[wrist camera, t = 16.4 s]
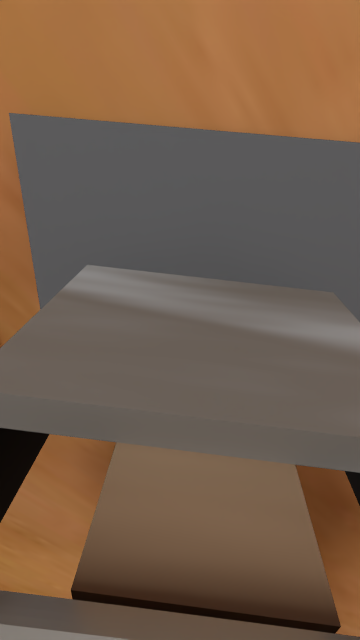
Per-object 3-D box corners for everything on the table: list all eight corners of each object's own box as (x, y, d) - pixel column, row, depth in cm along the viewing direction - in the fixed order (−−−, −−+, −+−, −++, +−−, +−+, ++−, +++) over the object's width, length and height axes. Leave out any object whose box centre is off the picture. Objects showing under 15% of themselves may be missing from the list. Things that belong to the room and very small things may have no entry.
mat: (316, 444, 17) (319, 452, 16) (62, 415, 17) (58, 422, 17) (442, 150, 10) (453, 150, 10) (17, 114, 10) (8, 113, 10)
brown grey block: (280, 378, 14) (398, 743, 5) (107, 357, 14) (-45, 679, 6) (314, 271, 12) (633, 629, 3) (104, 247, 12) (-180, 520, 3)
